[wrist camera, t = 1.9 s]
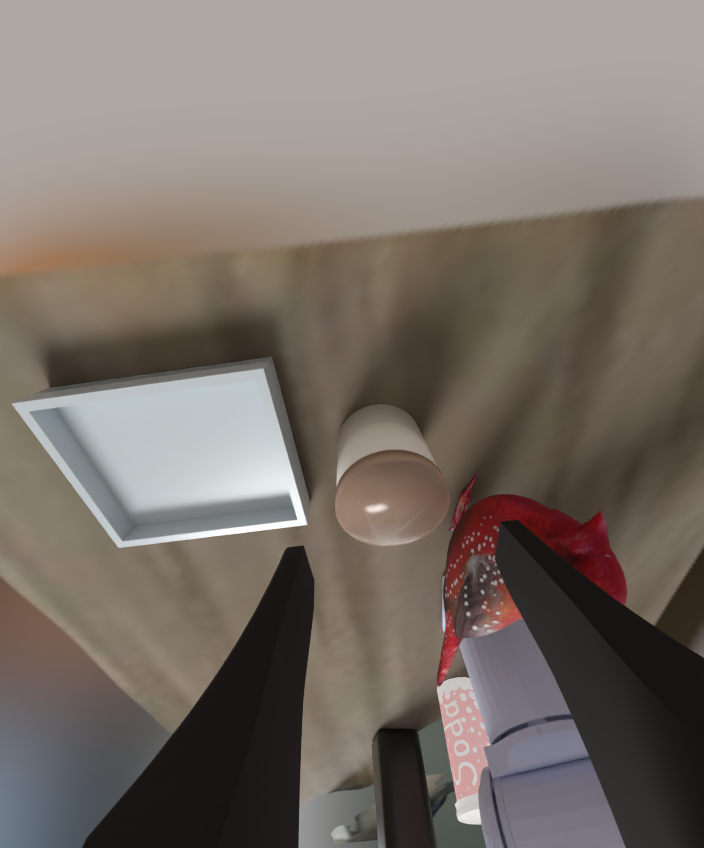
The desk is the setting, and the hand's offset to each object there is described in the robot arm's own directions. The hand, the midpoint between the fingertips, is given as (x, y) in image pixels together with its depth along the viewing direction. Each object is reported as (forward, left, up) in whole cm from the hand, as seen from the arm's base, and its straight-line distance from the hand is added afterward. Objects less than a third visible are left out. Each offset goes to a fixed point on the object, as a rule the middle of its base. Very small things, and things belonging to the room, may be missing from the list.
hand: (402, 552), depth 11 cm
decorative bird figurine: (-5, +8, -8) cm, 12 cm away
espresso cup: (0, 0, -8) cm, 8 cm away
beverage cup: (-6, +34, -8) cm, 36 cm away
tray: (+11, -1, -8) cm, 14 cm away
